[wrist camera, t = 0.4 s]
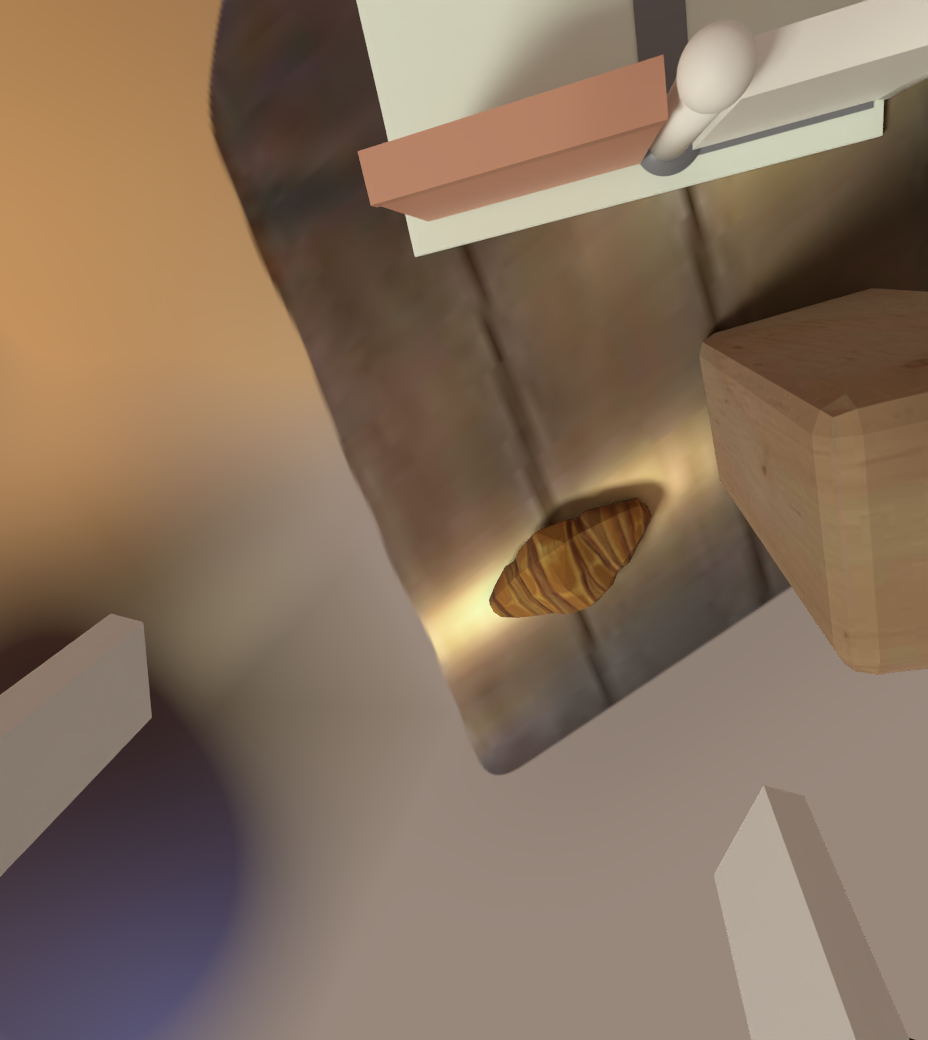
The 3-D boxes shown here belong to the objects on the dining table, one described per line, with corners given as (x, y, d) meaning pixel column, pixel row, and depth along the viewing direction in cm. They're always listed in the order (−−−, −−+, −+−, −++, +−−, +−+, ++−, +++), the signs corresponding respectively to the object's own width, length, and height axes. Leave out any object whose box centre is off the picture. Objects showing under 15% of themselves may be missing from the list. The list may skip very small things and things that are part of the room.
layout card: (893, -262, 24) (900, -272, 23) (878, 136, 29) (883, 134, 29) (349, -39, 30) (345, -44, 30) (416, 257, 35) (414, 256, 35)
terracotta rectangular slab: (636, 122, 30) (663, 54, 20) (640, 165, 31) (668, 119, 21) (420, 185, 33) (357, 151, 23) (428, 223, 34) (370, 205, 24)
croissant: (524, 630, 45) (518, 671, 40) (467, 569, 43) (455, 603, 39) (675, 536, 39) (688, 571, 35) (616, 463, 38) (621, 489, 34)
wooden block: (693, 336, 34) (820, 410, 16) (883, 281, 31) (1295, 297, 13) (718, 488, 38) (848, 690, 19) (893, 451, 35) (1233, 647, 17)
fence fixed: (914, 35, 27) (1159, -137, 16) (910, 99, 28) (1139, -18, 16) (641, 115, 30) (679, 21, 19) (646, 171, 31) (685, 113, 20)
